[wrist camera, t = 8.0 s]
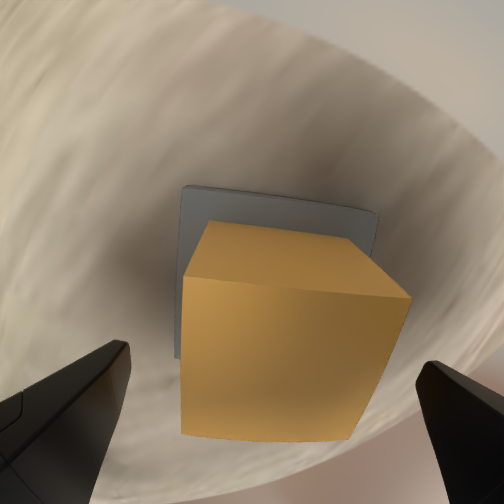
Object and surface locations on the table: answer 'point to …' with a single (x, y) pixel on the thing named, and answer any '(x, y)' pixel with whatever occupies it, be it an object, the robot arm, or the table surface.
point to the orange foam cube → (283, 334)
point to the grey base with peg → (261, 224)
